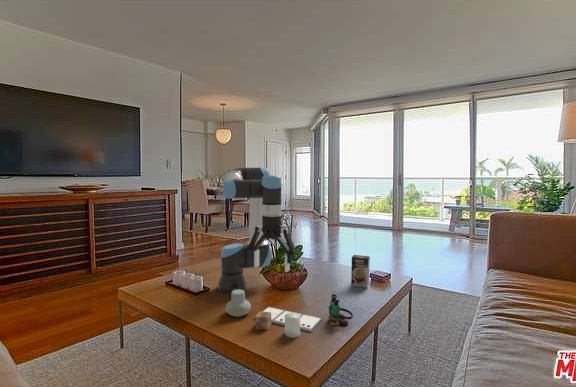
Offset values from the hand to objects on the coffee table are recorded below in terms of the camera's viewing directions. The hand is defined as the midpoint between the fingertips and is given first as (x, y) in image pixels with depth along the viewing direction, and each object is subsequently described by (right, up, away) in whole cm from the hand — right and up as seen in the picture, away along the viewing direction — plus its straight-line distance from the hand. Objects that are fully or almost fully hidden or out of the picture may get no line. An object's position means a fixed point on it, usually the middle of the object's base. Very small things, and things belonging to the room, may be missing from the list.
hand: (271, 268), depth 126 cm
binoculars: (+28, -24, +7) cm, 37 cm away
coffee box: (+46, -21, +51) cm, 72 cm away
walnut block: (-3, -24, +3) cm, 24 cm away
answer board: (+7, -23, +9) cm, 26 cm away
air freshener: (-15, -23, +14) cm, 31 cm away
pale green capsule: (+8, -24, -3) cm, 26 cm away
